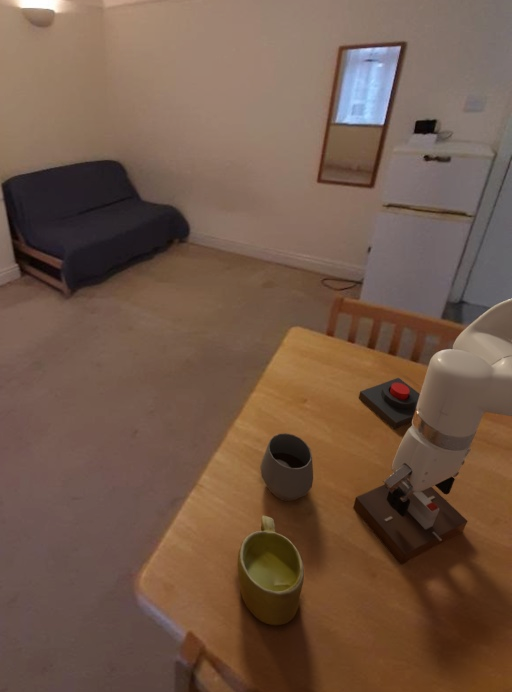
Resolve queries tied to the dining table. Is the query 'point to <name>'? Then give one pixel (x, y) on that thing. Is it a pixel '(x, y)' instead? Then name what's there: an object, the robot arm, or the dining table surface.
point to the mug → (270, 575)
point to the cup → (287, 467)
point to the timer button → (399, 391)
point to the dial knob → (421, 508)
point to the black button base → (391, 403)
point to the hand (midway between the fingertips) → (417, 497)
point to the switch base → (407, 523)
